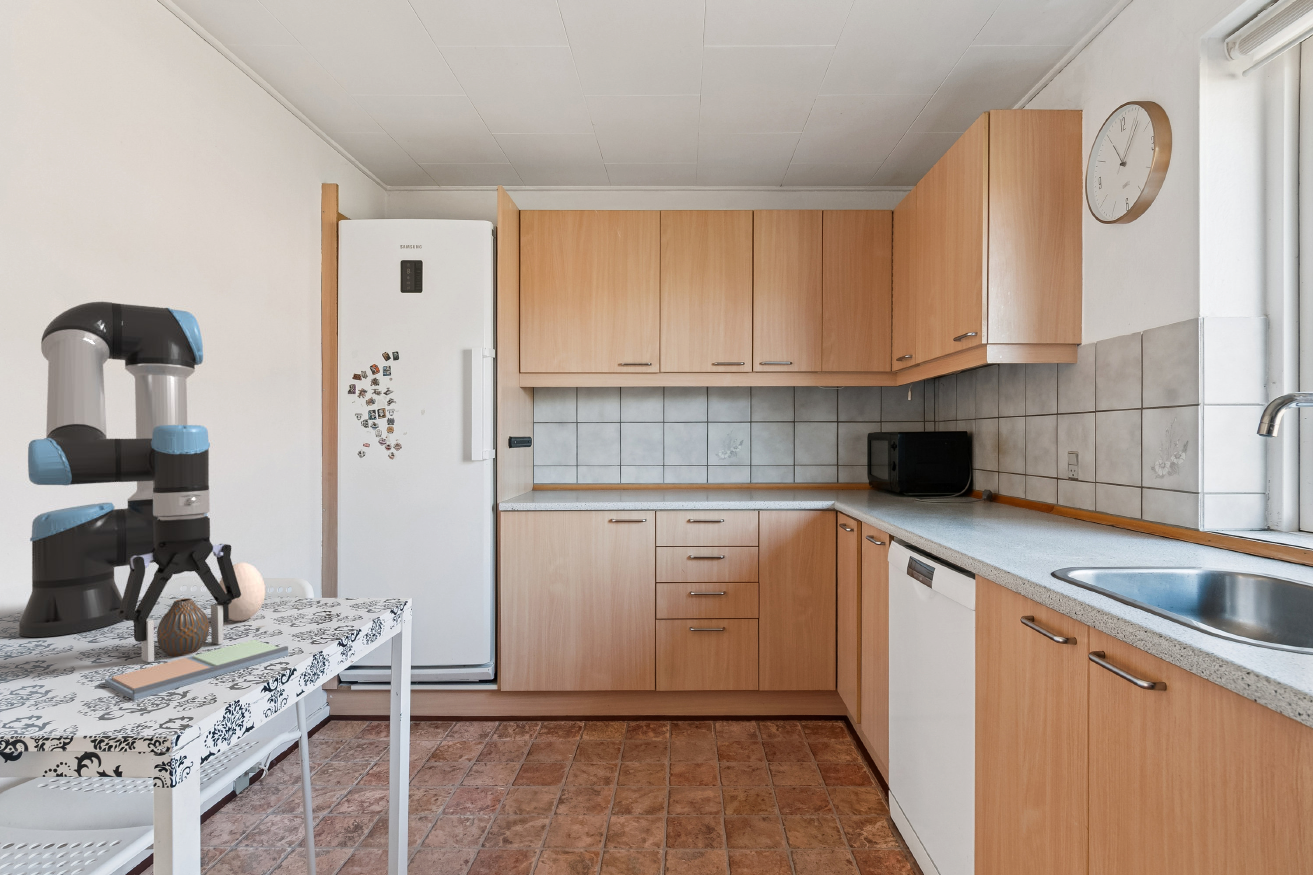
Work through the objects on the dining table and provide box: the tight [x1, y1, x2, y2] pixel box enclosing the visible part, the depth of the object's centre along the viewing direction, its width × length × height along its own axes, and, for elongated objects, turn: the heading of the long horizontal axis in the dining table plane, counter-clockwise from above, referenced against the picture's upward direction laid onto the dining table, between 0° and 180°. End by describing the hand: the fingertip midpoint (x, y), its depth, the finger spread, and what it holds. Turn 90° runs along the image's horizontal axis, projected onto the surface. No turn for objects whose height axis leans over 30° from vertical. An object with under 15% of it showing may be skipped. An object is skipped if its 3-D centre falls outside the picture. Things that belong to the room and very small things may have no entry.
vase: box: [156, 597, 210, 657], centre depth 102 cm, size 7×7×9 cm
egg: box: [219, 562, 266, 622], centre depth 120 cm, size 8×8×11 cm
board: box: [104, 639, 289, 701], centre depth 94 cm, size 11×20×1 cm, turn 148°
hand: (184, 650), depth 102 cm, fingers open, 9 cm apart
